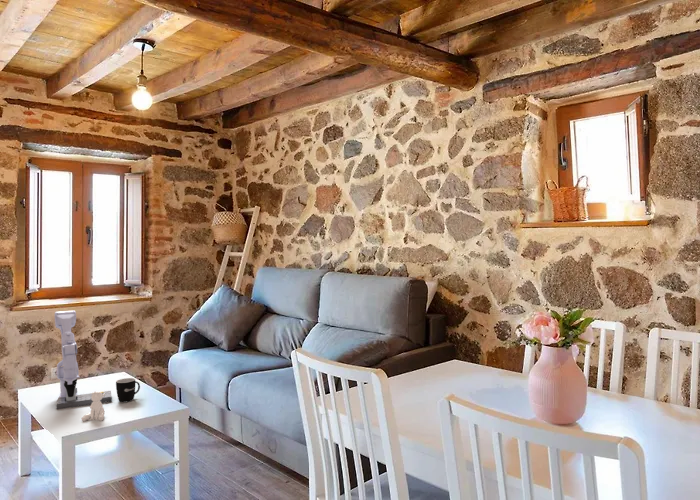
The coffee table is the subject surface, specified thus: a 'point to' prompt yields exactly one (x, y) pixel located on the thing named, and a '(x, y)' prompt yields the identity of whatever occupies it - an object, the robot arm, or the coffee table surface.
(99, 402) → the seated beast figurine
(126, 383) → the mug
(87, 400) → the panel
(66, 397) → the plug
